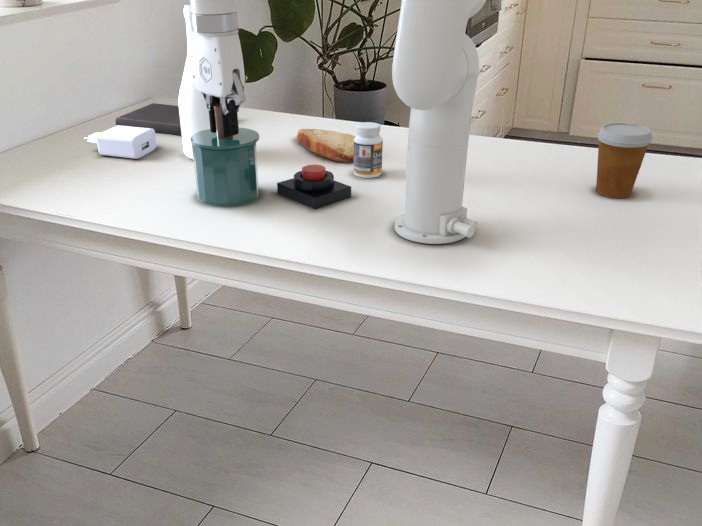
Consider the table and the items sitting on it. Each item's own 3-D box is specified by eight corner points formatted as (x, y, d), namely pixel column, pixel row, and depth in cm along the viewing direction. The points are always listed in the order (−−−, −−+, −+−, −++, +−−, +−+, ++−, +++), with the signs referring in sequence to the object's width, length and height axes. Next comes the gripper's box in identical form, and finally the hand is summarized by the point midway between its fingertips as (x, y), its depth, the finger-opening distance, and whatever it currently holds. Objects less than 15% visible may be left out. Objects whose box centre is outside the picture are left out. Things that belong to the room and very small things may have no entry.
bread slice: (300, 135, 176) (299, 119, 174) (375, 141, 172) (375, 124, 170) (275, 158, 161) (274, 141, 159) (357, 165, 157) (357, 147, 155)
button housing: (351, 197, 141) (351, 177, 139) (315, 209, 136) (314, 188, 134) (313, 183, 148) (312, 163, 146) (277, 194, 143) (276, 173, 141)
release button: (330, 177, 140) (330, 168, 139) (312, 183, 137) (312, 173, 137) (314, 171, 143) (314, 162, 142) (297, 177, 140) (296, 168, 139)
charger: (99, 142, 173) (157, 148, 168) (75, 154, 165) (135, 160, 161) (96, 121, 170) (154, 127, 166) (72, 132, 163) (132, 138, 159)
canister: (270, 196, 142) (267, 141, 136) (220, 211, 136) (215, 154, 130) (235, 181, 149) (231, 128, 144) (186, 195, 143) (180, 140, 137)
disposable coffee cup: (585, 198, 140) (597, 133, 134) (588, 181, 147) (600, 120, 141) (639, 204, 137) (654, 138, 131) (640, 187, 145) (654, 124, 138)
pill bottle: (379, 179, 149) (381, 129, 144) (351, 178, 150) (351, 128, 145) (383, 170, 154) (385, 121, 149) (355, 169, 155) (356, 120, 150)
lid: (273, 142, 136) (271, 105, 133) (216, 157, 129) (212, 118, 126) (233, 129, 144) (230, 93, 141) (178, 142, 137) (173, 105, 134)
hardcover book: (154, 112, 195) (152, 103, 194) (231, 121, 187) (230, 111, 186) (116, 128, 183) (114, 118, 182) (197, 138, 175) (196, 128, 174)
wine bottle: (235, 156, 163) (225, 5, 147) (196, 164, 158) (180, 9, 142) (215, 146, 169) (203, 0, 154) (176, 153, 165) (160, 4, 149)
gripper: (170, 21, 130) (182, 128, 139) (224, 32, 119) (234, 147, 129) (206, 16, 134) (216, 121, 143) (262, 26, 123) (268, 138, 133)
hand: (224, 132), depth 136 cm, fingers closed on lid, 3 cm apart
